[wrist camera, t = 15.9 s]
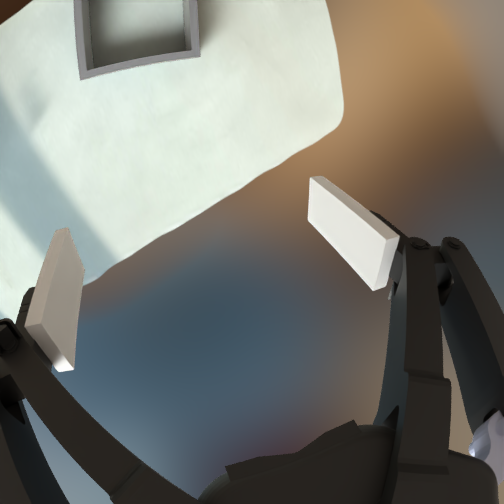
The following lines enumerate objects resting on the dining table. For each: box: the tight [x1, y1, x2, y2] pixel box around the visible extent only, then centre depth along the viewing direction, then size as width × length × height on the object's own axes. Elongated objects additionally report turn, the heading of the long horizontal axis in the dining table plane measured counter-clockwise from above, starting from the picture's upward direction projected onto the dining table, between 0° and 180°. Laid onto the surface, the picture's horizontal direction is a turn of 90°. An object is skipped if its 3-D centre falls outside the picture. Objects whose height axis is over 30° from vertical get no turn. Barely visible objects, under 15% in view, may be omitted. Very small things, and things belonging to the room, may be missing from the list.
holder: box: [74, 0, 201, 80], centre depth 28 cm, size 15×15×6 cm
